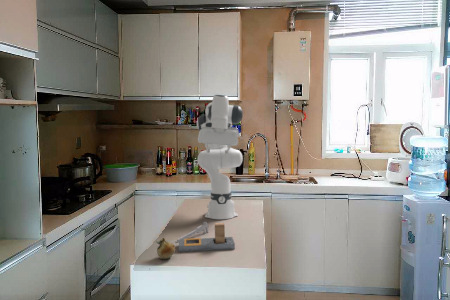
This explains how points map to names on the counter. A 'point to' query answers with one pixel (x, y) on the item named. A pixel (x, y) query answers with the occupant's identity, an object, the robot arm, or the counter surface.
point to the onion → (165, 249)
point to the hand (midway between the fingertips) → (217, 153)
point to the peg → (219, 233)
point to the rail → (205, 244)
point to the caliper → (196, 231)
